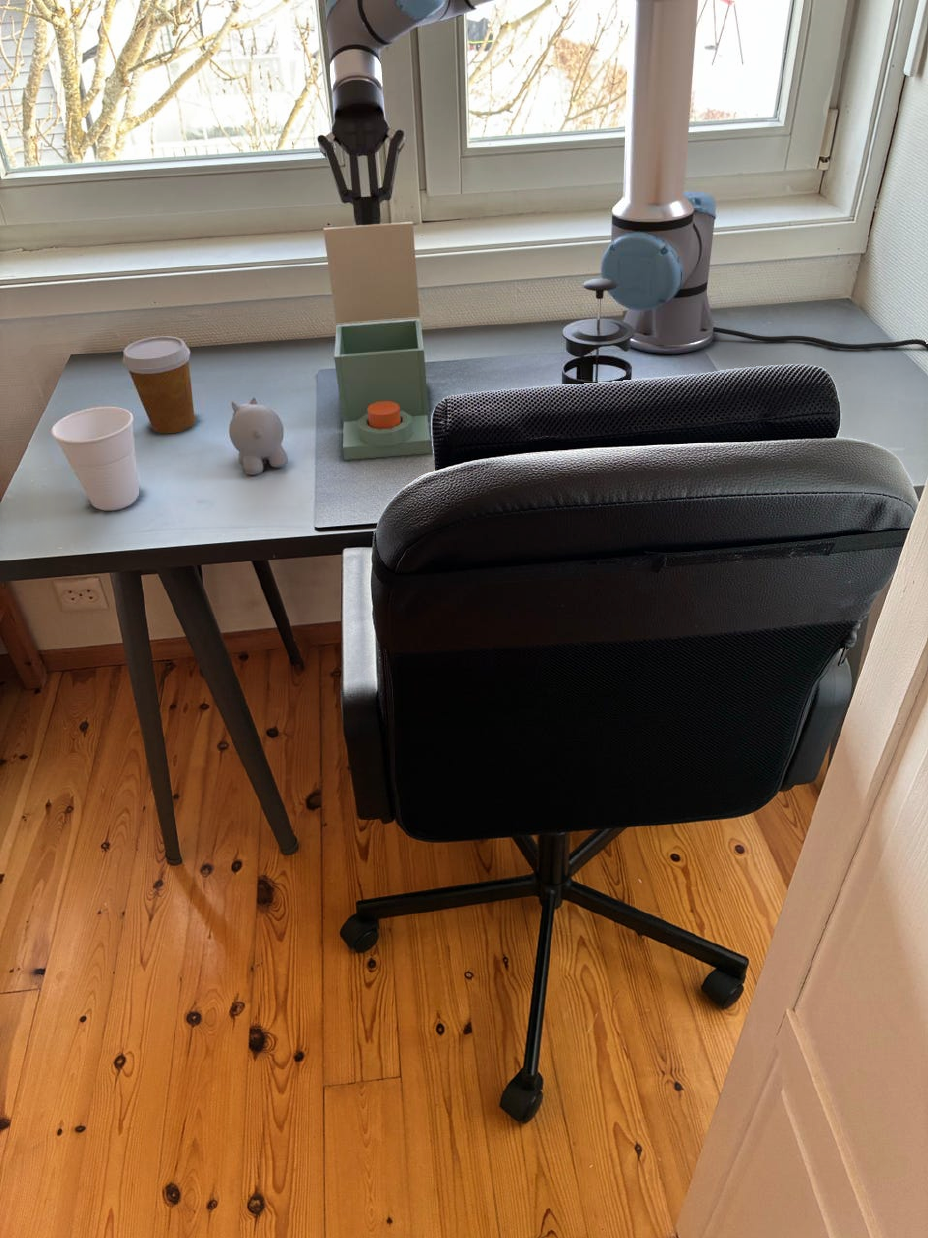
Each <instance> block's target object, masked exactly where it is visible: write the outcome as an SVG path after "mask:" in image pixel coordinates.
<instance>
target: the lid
mask: <svg viewBox="0 0 928 1238" xmlns="http://www.w3.org/2000/svg"><path fill="white" fill-rule="evenodd" d="M323 236H324V244H325V251H326V258H327V266H328V273H329V281H330V289H331V297H332V303H333V311H334V318H335V323H336V324H339V323H340V324H341V323H352V322H368V321H377V320H378V321H380V320H394V319H405V318H418V317H419V318H420V317H421V313H420V300H419V287H418V276H417V275H418V273H417V272H418V271H417V260H416V250H415V249H416V248H415V235H414V222H413V221H404V222H390V223H389V222H388V223H380V224H374V225H345V226H334V227H324V228H323Z"/></svg>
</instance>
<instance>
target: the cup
mask: <svg viewBox="0 0 928 1238" xmlns="http://www.w3.org/2000/svg"><path fill="white" fill-rule="evenodd" d="M133 422H134V415H133V414H132V412H131V411H129V410H128V409H125V408H122V407H117V406H98V407H97V406H96V407H91V408H87V409H82V410H78V411H75V412H73V413H70V414H68V415H65V416H64V417H62V418H60V419H59V420H58V421H56V423H54V424H53V426H52V427H51V430H50V434H51V436H52V438H53V439H54V440H56V442H57V444H58V446H59V447H60V449H61V451H62V453H63V455H64V456H65V458H66V460H67V462H68V464H69V465H70V467H71V470H72V471H73V473H74V475H75V477H76V478H77V480H78V481H79V484H80V485H81V487H82V489H83V491H84V493H85V495H86V497H87V498H88V500H89V502H90V504H91V505H92V507H94V508H96V509H98V510H100V511H110V512H111V511H117V510H122V509H124V508H128V507H129V506H131V505H133V504H134V503H135V502H136V501H137V500H138V498H139V496H140V487H139V485H140V484H139V477H138V467H137V460H136V450H135V439H134V427H133Z"/></svg>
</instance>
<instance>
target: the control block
mask: <svg viewBox="0 0 928 1238" xmlns="http://www.w3.org/2000/svg"><path fill="white" fill-rule="evenodd" d="M400 418H401V423H400V424H399V425H398V426H395V427H393V428H388V429H376V428H372V427H370V425H369V419H368V414H365V415H364V416H363V417H362V418H360V419H359V420H358V421H349V422H344V425H343V435H342V436H343V437H342V438H343V439H342V452H343V459H344V461H350V460H361V459H373V458H374V459H375V458H385V457H386V458H387V457H400V456H411V455H421V454H422V455H424V454H432V447H431V435H430V427H429V421H428V418H427V415H424V416H410V415H409V414H407V413H406V412H404V411H400Z"/></svg>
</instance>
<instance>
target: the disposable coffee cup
mask: <svg viewBox="0 0 928 1238" xmlns="http://www.w3.org/2000/svg"><path fill="white" fill-rule="evenodd" d="M190 356H191V350H190V348H189V347H188V346H187V345H186V342H185V341H184V340H183V338H180V337H175V336H169V335H167V336H165V335H163V336H153V337H146V338H143V339H140V340H136V341H134V342H132V343H130V344H128V345H127V346H126V347H125V348H124V349H123V358H122V360H121V362H122V364H123V366H124V367H125V368H126V370H127V371H128V373H129V374H130V378H131V380H132V382H133V385H134V387H135V389H136V392H137V394H138V396H139V399H140V401H141V404H142V406H143V409H144V411H145V413H146V416H147V418H148V421H149V424H150V425H151V428H152V430H153V431H154V432H156V433H159V434H176V433H180V432H183V431H186V430H188V429H190V428H192V427H193V426H194V424H195V423H196V419H195V418H196V417H195V410H194V409H195V408H194V400H193V388H192V381H191V370H190V362H189V361H190Z"/></svg>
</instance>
